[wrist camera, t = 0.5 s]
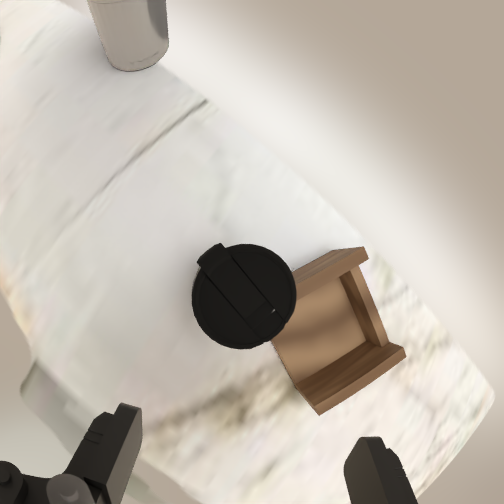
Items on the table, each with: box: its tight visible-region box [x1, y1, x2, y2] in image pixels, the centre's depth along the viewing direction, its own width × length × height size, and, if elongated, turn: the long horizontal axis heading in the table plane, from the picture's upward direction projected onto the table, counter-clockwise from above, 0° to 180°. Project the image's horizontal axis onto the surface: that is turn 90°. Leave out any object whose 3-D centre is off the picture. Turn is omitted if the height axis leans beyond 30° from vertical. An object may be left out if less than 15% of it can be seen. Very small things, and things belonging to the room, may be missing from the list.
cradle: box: [271, 247, 406, 415], centre depth 35 cm, size 14×12×8 cm
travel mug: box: [192, 243, 297, 349], centre depth 27 cm, size 6×7×20 cm
